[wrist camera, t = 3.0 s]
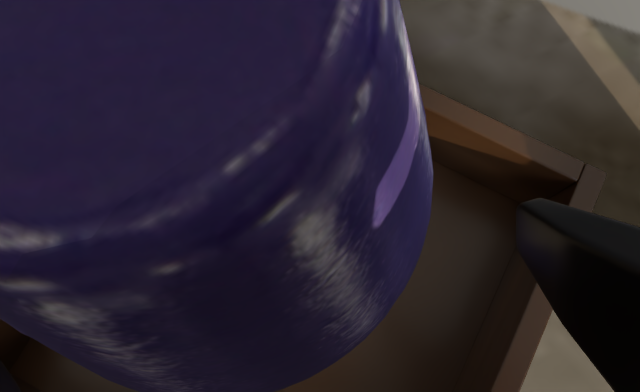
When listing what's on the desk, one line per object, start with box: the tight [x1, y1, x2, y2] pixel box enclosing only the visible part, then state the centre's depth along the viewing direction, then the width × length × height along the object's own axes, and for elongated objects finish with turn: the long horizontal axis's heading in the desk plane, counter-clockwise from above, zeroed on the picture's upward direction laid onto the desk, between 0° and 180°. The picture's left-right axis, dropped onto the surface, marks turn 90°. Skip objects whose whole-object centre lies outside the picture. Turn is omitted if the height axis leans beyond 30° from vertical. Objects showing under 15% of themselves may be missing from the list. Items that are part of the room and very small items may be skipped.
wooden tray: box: [0, 83, 607, 392], centre depth 17 cm, size 14×14×4 cm
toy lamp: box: [0, 0, 433, 392], centre depth 11 cm, size 5×5×17 cm
